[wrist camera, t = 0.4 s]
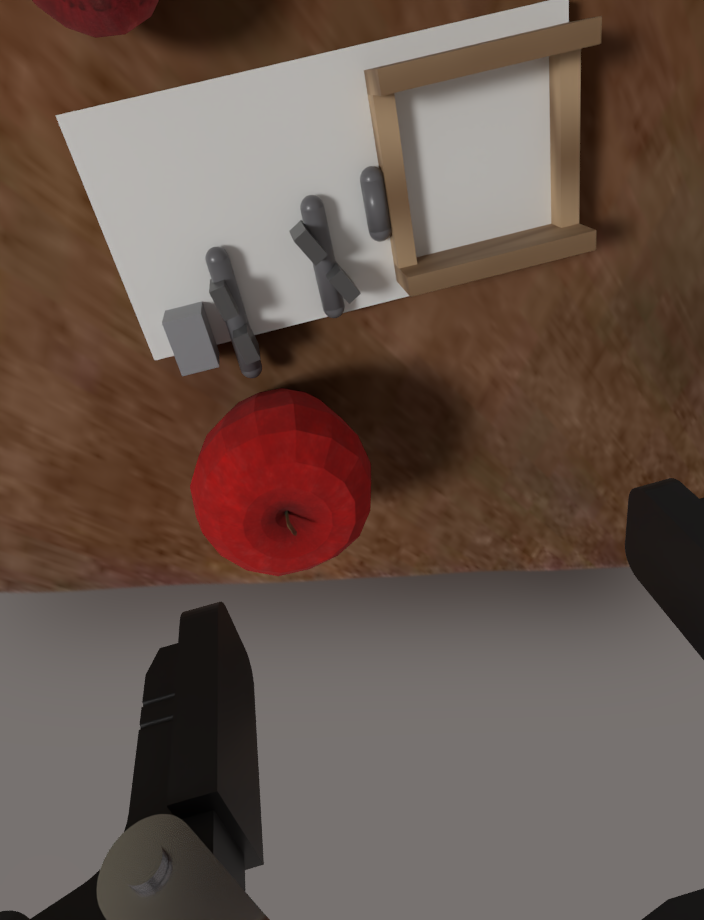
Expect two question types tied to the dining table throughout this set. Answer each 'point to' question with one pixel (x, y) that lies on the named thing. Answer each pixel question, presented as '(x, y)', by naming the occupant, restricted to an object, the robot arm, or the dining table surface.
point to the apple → (281, 483)
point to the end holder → (564, 156)
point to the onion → (99, 14)
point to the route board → (307, 184)
